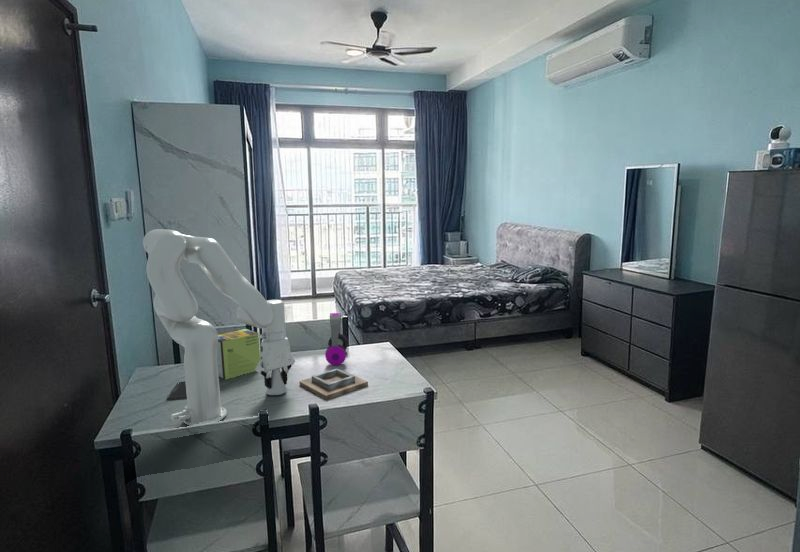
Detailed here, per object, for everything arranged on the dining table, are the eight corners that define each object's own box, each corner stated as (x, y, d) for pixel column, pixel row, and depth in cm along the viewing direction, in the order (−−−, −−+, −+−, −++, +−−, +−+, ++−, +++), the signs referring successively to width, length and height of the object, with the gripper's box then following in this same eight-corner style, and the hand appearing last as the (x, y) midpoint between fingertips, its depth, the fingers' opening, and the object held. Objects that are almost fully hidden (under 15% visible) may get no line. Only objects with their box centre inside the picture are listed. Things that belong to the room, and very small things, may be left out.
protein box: (261, 369, 187) (259, 332, 184) (225, 380, 176) (222, 341, 173) (248, 363, 194) (246, 328, 191) (212, 374, 183) (209, 336, 180)
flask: (281, 396, 158) (280, 368, 157) (262, 395, 160) (260, 367, 158) (290, 388, 165) (289, 362, 164) (271, 387, 167) (270, 360, 165)
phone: (199, 380, 174) (190, 395, 160) (200, 383, 174) (190, 399, 160) (177, 382, 173) (165, 398, 158) (177, 384, 173) (166, 401, 158)
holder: (326, 399, 156) (325, 390, 156) (299, 385, 170) (299, 376, 169) (368, 385, 168) (367, 376, 168) (340, 372, 182) (339, 364, 181)
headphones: (329, 351, 208) (327, 308, 205) (348, 350, 209) (347, 307, 206) (325, 367, 188) (322, 319, 185) (346, 366, 189) (344, 319, 185)
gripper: (255, 342, 151) (258, 395, 154) (301, 333, 162) (303, 382, 165) (246, 337, 157) (248, 388, 159) (291, 329, 168) (292, 377, 171)
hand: (276, 385), depth 162 cm, fingers closed on flask, 5 cm apart
